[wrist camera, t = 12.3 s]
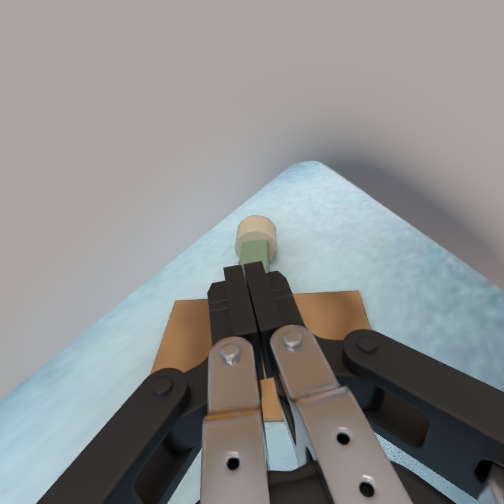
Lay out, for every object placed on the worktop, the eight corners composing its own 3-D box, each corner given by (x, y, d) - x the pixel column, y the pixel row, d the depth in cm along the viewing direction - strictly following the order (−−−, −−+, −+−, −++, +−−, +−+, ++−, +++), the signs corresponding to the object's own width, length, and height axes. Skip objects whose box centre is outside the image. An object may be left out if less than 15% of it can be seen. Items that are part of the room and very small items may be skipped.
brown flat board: (136, 424, 28) (134, 420, 28) (176, 303, 39) (175, 300, 39) (397, 419, 26) (397, 415, 26) (358, 293, 37) (358, 290, 37)
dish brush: (219, 302, 31) (235, 216, 45) (227, 340, 34) (240, 249, 47) (275, 298, 31) (274, 213, 44) (279, 338, 34) (277, 246, 47)
